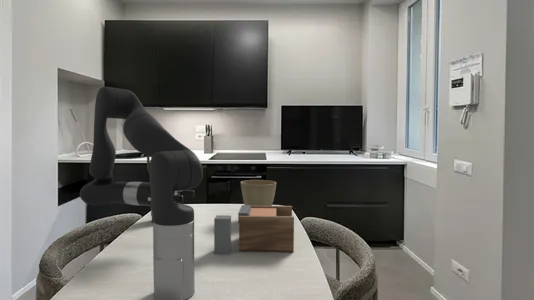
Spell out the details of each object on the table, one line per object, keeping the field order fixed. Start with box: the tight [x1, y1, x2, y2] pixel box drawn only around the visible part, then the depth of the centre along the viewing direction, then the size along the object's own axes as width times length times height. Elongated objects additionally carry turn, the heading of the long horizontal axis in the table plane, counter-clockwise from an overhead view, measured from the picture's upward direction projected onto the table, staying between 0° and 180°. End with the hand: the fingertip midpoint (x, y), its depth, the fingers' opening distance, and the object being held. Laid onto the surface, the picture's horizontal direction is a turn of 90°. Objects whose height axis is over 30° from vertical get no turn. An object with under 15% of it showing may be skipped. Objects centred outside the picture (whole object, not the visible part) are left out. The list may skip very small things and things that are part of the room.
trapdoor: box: [237, 204, 276, 224], centre depth 123 cm, size 13×12×3 cm
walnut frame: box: [238, 205, 295, 253], centre depth 123 cm, size 16×17×11 cm
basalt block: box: [213, 214, 232, 256], centre depth 115 cm, size 4×4×11 cm
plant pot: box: [240, 179, 277, 206], centre depth 154 cm, size 15×15×16 cm
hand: (188, 196), depth 116 cm, fingers open, 8 cm apart
